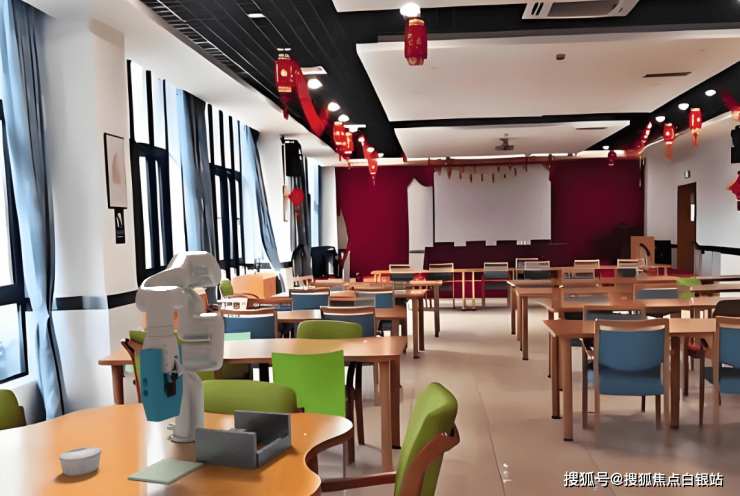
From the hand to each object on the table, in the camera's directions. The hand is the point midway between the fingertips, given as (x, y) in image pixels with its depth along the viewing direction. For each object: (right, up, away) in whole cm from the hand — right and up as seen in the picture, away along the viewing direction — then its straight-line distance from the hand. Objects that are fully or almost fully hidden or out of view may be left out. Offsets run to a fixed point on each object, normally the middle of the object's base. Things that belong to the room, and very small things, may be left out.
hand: (162, 394), depth 177 cm
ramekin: (-25, -23, +5) cm, 35 cm away
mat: (+1, -22, 0) cm, 22 cm away
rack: (+21, -21, +14) cm, 33 cm away
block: (0, -7, 0) cm, 7 cm away
